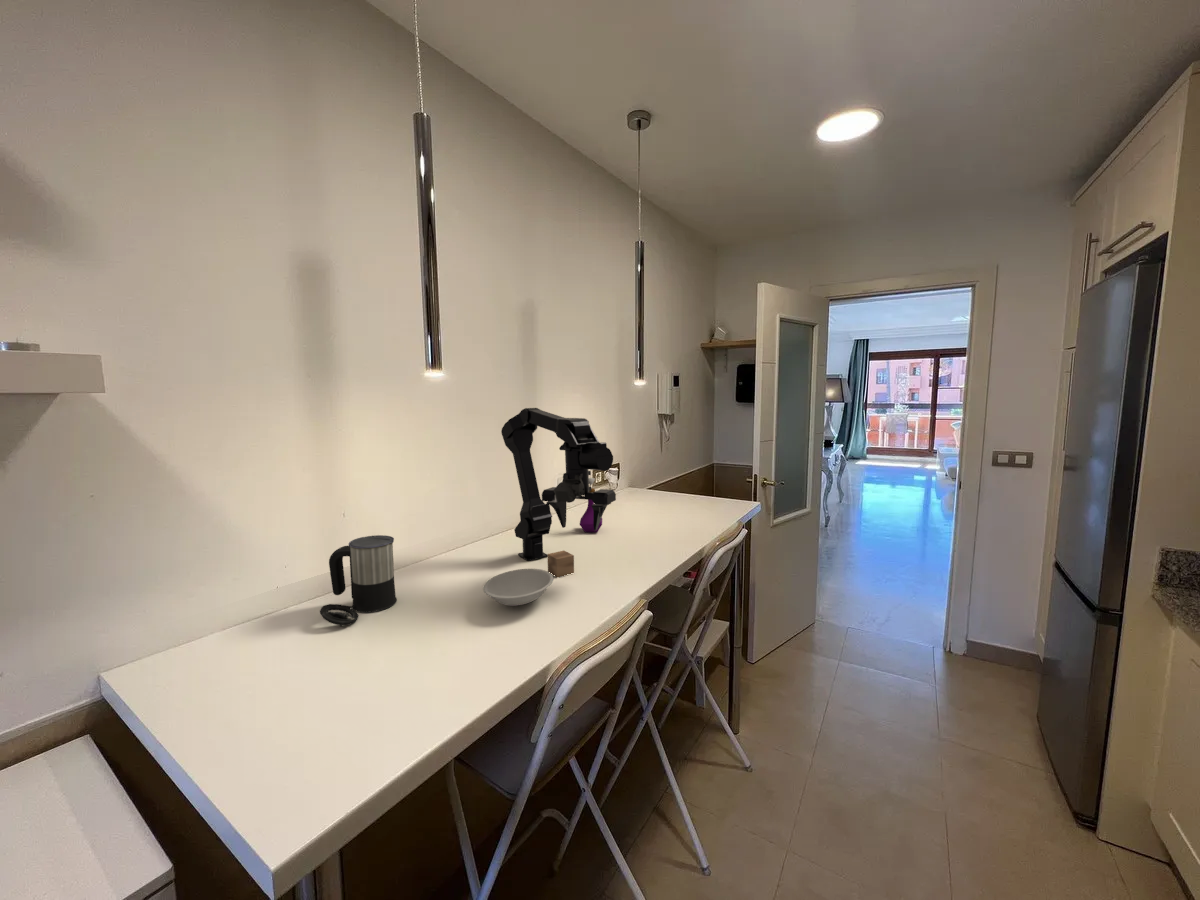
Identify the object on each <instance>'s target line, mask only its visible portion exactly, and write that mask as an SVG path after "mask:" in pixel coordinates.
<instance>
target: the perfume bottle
mask: <svg viewBox="0 0 1200 900" xmlns="http://www.w3.org/2000/svg"><path fill="white" fill-rule="evenodd" d="M595 480H596V478H594V477H589V487H591V491H589V492H595V491H596V489H595V488H593V487H592V485H593V484H594V483H595ZM593 504H595V503H594V502H593V501H592V500H587V508H586V510H585V512H584V513H583V514H582V516H581V517H580V521H579V526H580V528H581V529H582V531H583V532H584V533H586V532H587V533H598V532H599V530H600V529H601V527H602V526H603V517H602V518H601V520H600V523H599V526H598V529H597V530H594V525H593V508H592V506H591V505H593Z"/></svg>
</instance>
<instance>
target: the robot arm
mask: <svg viewBox="0 0 1200 900" xmlns="http://www.w3.org/2000/svg"><path fill="white" fill-rule="evenodd" d="M538 427H540V428H542V429H545V430H548V431H550V432H553V433H555V435H556V437H557V438H558V439H560V440H561V441H563V443H562V444H561V445H560V447H559V450H560V451H564V456H565V457H564V458H565V459H564V460H565V472H564V473H563V475H562V481H561V482H559V483H558V484H557V485H556V486H552V487H549V488H546V489H545V488H544V489H543V491H542V492H541V495H540V490H539V485H538V482H537V476H536V472H535V467H534V462H533V459H532V453H531V448H532V444H533V443H534V436H533V434H534V433H535V432H536V431H537V430H538ZM500 434H501V437H502V439H503V442H504V445H505V447H506V448H507V449H508V450H509V451H510V452H511V454H512V457H513V461H514V465H515V470H516V474H517V475H516V476H517V480H518V484H519V489H520V493H521V498H522V505H521V508H520V512H519V517H520V520H519V522H518V524H517V525H516V526H515V528H514V534H515V537H516V538H519V539H522V552H519V553H517V555H518V556H519V557H521V558H523V559H524V560H526V561H528V562H529V561H534V560H538V559H542V558H543V559H544V558H548V553H546V552H544V542H543V535H544V536H545V535H548V534H550V530H551V525H552V524H553V521H552V520H553V519H552V518H553V514H552V512H551V508H550V507H552V508H553V510H554V511H555V513H556V515H557V518H558V520H559V523H560V525H561V528H566V526H567V503H573V502H574V501H576V500H587V501H588V500H592V501H593V502H594V504H593V505H591V506H592V508H593V525H594V530H597V529H598V526H599V523H600V520H601V518H602V519H603V515H604V512H605V510H606V509H607V506H608V505H611V504H612V503H613V502H615V501H617V495H616V492H615V491H614V489H605V488H603V489H602V488H600V489H599V490H598V489H597V490H595V492H589V491H591V488H592V486H591V487H590V484H589V478H590V477H589V476H591V475H592V472H591V471H600V472H601V471H603V472H606V471H608V470H610V469H611V467H612V465H613V463H614V455H613V453H612V451H611V449H610V448H609V447H607V442H602V441H601V442H600V440H599V439H598V437H597V435H596V434H595V432H594V430H593V428H592V427H591V425H590V421H589V420H588V419H587V418H584V417H583V418H582V417H565V416H562V415H561V416H560V415H557V414H555V413H550V412H548V411H545V410H542V409H540V408H538V407H525V408H523V409H521V410H520V411H519V413H518V414H516V415H514V416H512V417H511V418H509V419H508V420H507V422H505V423H504V425H503V426H502V427H501V433H500ZM545 502H546V503H545Z"/></svg>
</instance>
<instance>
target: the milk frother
mask: <svg viewBox="0 0 1200 900" xmlns="http://www.w3.org/2000/svg"><path fill="white" fill-rule="evenodd" d="M394 541H395V538H394V536H390V535H385V534H384V535H379V534H377V535H375V534H374V535H368V536H367V535H366V536H361V537H357V538H354V539H352V540H350V541H349V543H348V545H343V546H340V547H338V548H337V549H336V550H334V551H333V552H332V554H331V555H330V556H329V559H328V567H329V571H330V572H329V574H330V580H331V588H332V593H333V595H335V596H340V595H341V594H343V593H344V592H345V591H346V588H347V587H346V578H345V571H344V561H343V558H344V557H349V567H350V568H349V569H350V570H349V571H350V572H349V573H350V591H351V592H350V593H351V599H352V605H345V604H336V603H335V604H334V603H327V604H323V606H321V607H320V609H319V613H320V615H321V617H322V618H323V619H324V620H325V621H326V622H328V623H330V624H334V625H337V626H340V627H342V626H348V625H352V624H355V623H356V622H357V621H358V620H359V613H374V612H380V611H384V610H386V609H389V608H391V607H392V606H394V605H395V604H396V603H397V601H398V598H397V596H396V586H395V566H394V564H395V563H394V549H393V547H394V546H393V545H394V544H393V543H394ZM334 611H336V612H334ZM349 615H350V616H349Z"/></svg>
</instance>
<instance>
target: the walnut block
mask: <svg viewBox="0 0 1200 900" xmlns="http://www.w3.org/2000/svg"><path fill="white" fill-rule="evenodd" d="M547 555H548V557H547V572H550V573H552V574H553V575H555V576H556V577H555V576H554V577H555V578H557V577H559V578H561V577H560V576H563V577H565V576H564V575H567V574H571V573H574V574H575V555H574V554H572V553H570V552H568V551H567V550H559V551H555V552H549V553H547ZM571 575H572V574H571ZM567 576H568V575H567Z"/></svg>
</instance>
